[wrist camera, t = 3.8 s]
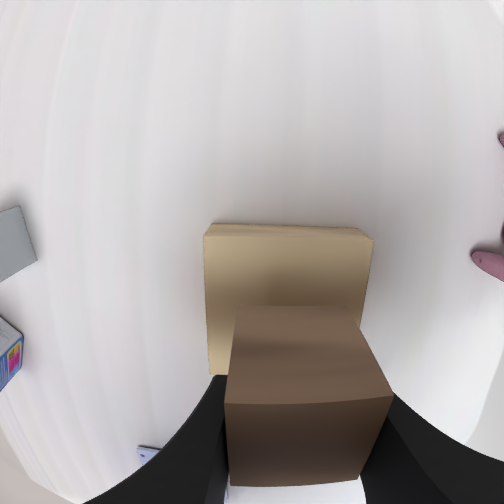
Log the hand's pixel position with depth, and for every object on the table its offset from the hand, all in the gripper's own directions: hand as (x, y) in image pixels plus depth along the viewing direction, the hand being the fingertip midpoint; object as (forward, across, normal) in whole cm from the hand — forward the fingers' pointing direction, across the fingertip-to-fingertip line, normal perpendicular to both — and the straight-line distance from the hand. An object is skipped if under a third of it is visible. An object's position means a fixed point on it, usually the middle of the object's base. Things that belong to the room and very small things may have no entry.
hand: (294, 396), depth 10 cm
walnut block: (+2, 0, 0) cm, 2 cm away
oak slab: (+9, 0, 0) cm, 9 cm away
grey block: (+8, +19, -3) cm, 21 cm away
